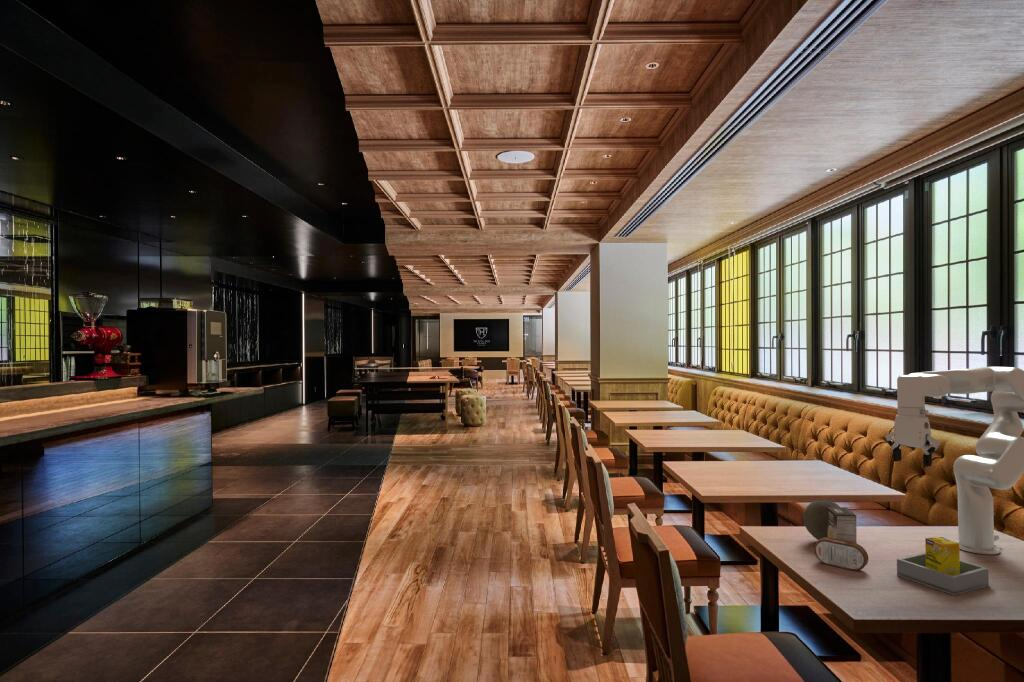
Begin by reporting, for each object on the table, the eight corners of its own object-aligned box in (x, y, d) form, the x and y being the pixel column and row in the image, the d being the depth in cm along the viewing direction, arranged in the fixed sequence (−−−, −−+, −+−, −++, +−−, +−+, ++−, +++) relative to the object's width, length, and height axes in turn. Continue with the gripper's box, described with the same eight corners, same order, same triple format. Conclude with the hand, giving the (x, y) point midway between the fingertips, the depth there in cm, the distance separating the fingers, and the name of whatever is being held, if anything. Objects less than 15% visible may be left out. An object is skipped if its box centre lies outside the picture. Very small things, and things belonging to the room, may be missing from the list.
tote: (930, 567, 185) (930, 551, 185) (988, 585, 170) (988, 568, 170) (897, 575, 178) (896, 558, 179) (954, 595, 164) (954, 577, 164)
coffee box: (826, 554, 197) (826, 506, 197) (847, 555, 196) (847, 507, 196) (836, 564, 188) (835, 514, 188) (858, 565, 187) (857, 514, 187)
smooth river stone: (822, 535, 217) (821, 494, 217) (858, 546, 204) (858, 503, 204) (795, 540, 211) (794, 498, 211) (830, 553, 198) (829, 508, 198)
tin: (868, 571, 182) (868, 544, 182) (866, 574, 180) (866, 546, 180) (816, 560, 192) (815, 534, 192) (813, 562, 190) (812, 536, 190)
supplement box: (925, 574, 177) (924, 537, 177) (942, 572, 178) (942, 536, 178) (942, 581, 171) (941, 544, 171) (960, 580, 172) (959, 542, 172)
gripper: (946, 414, 189) (947, 467, 189) (892, 409, 205) (893, 458, 205) (931, 415, 186) (932, 469, 186) (878, 410, 202) (879, 460, 202)
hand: (912, 463), depth 196 cm, fingers open, 9 cm apart
